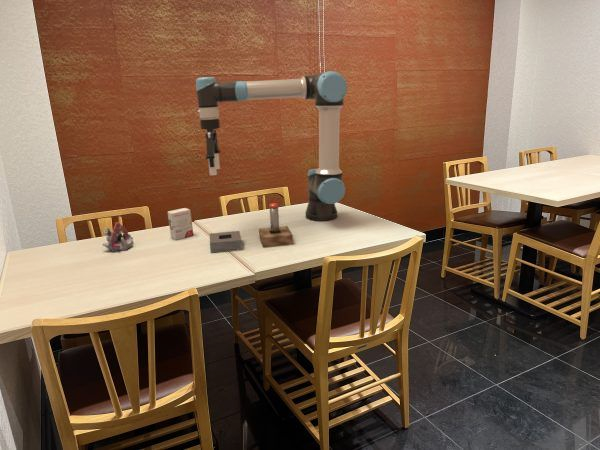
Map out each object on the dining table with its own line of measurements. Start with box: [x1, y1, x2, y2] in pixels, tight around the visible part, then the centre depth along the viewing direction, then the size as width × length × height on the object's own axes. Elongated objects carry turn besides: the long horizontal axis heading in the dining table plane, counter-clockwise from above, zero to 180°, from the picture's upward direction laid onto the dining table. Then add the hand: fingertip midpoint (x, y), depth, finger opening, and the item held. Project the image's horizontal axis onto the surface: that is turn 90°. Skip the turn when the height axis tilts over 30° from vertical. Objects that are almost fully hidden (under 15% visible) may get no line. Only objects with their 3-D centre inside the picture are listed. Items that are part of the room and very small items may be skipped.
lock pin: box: [268, 202, 280, 234], centre depth 177 cm, size 3×3×16 cm
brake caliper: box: [102, 221, 134, 252], centre depth 178 cm, size 11×11×12 cm
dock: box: [209, 230, 243, 254], centre depth 175 cm, size 12×12×4 cm
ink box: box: [167, 207, 194, 241], centre depth 188 cm, size 9×5×12 cm, turn 129°
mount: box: [258, 225, 294, 248], centre depth 179 cm, size 12×12×4 cm
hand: (215, 172), depth 180 cm, fingers open, 13 cm apart
